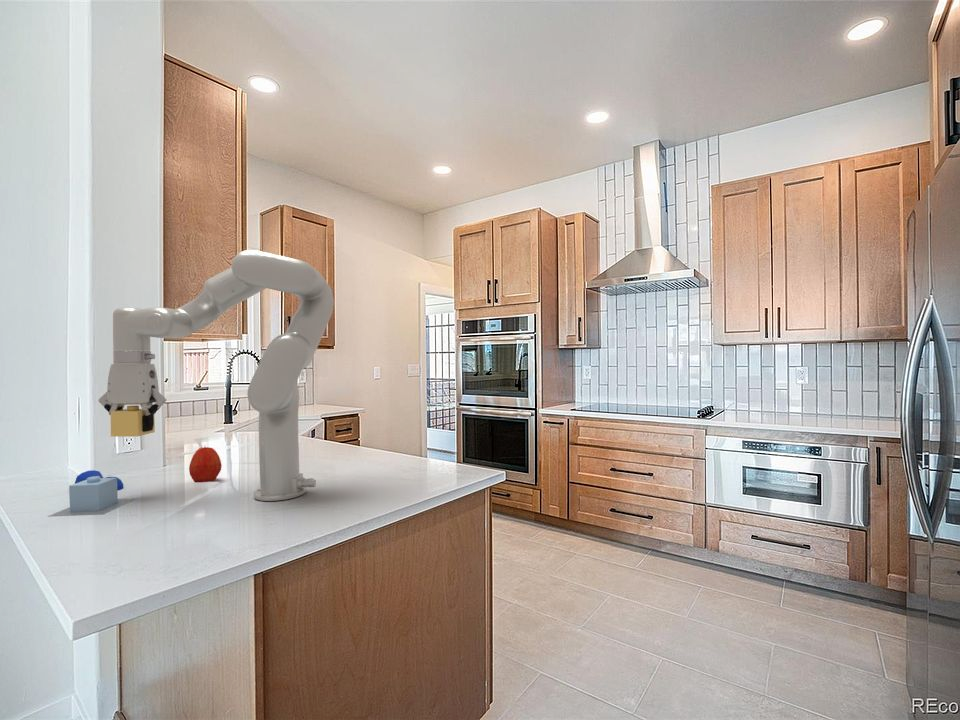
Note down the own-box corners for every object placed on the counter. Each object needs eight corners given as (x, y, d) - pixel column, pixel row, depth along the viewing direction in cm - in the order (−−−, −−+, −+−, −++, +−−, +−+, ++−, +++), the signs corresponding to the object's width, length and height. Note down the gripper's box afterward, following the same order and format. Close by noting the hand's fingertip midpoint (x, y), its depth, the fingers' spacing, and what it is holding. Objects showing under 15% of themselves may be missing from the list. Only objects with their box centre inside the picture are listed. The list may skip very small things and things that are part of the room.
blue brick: (117, 502, 120) (116, 473, 120) (99, 510, 114) (97, 480, 114) (90, 503, 120) (89, 474, 120) (70, 511, 113) (68, 481, 113)
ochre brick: (154, 432, 126) (154, 404, 125) (138, 436, 119) (137, 407, 119) (128, 432, 125) (128, 404, 125) (110, 436, 119) (110, 407, 119)
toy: (70, 496, 134) (102, 499, 127) (69, 473, 134) (100, 475, 127) (98, 489, 140) (130, 492, 133) (97, 467, 140) (129, 469, 133)
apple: (228, 481, 143) (227, 444, 143) (199, 488, 136) (197, 449, 136) (212, 477, 147) (211, 441, 147) (183, 484, 140) (182, 446, 140)
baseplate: (137, 503, 123) (136, 494, 123) (103, 519, 111) (103, 509, 111) (87, 504, 123) (86, 496, 122) (47, 521, 111) (47, 511, 110)
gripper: (176, 358, 126) (177, 428, 126) (107, 358, 125) (108, 428, 126) (158, 358, 118) (159, 433, 119) (84, 358, 118) (85, 433, 118)
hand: (132, 430), depth 122 cm, fingers closed on ochre brick, 6 cm apart
